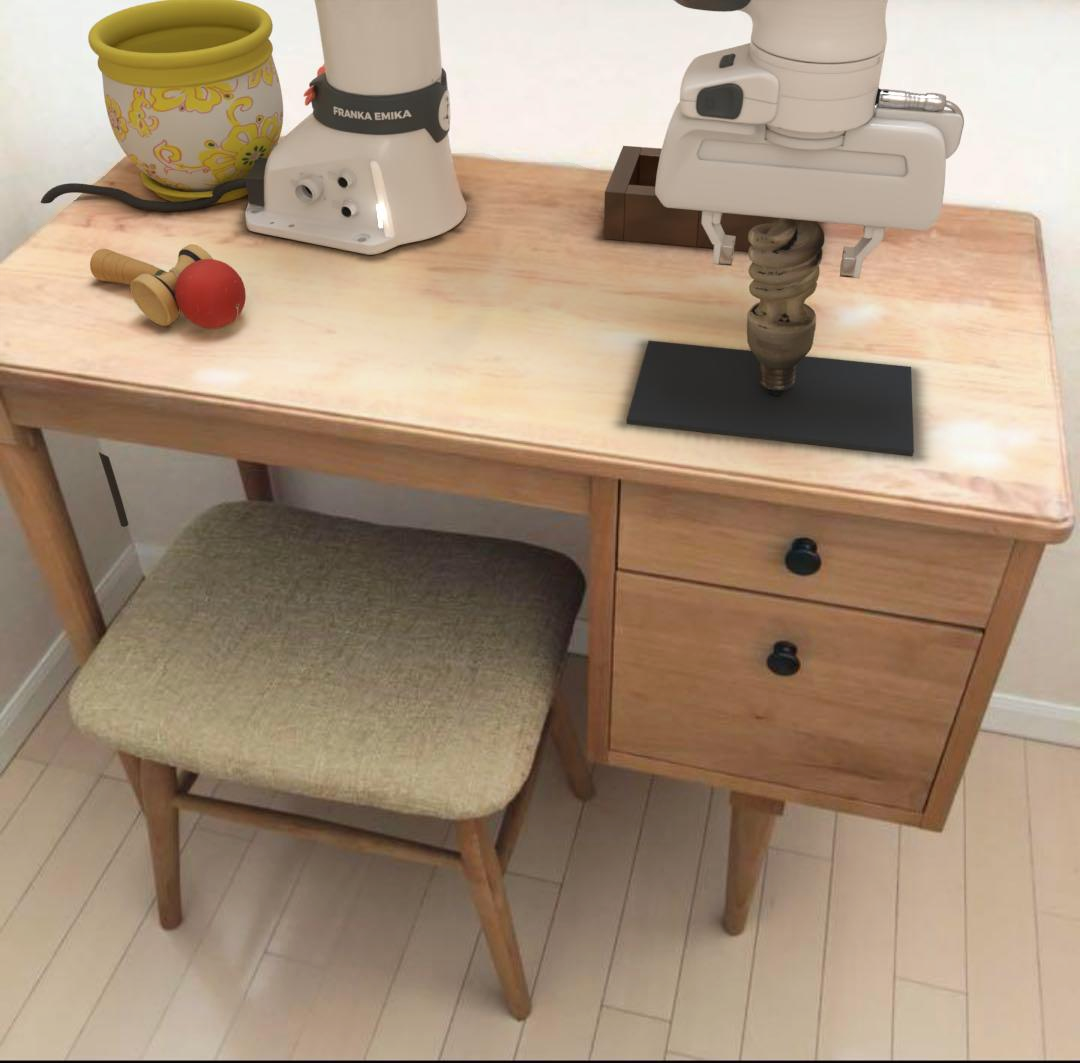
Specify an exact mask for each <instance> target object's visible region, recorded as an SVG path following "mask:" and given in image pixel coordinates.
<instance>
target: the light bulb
mask: <svg viewBox="0 0 1080 1063" xmlns="http://www.w3.org/2000/svg"><path fill="white" fill-rule="evenodd" d="M748 240H749V242H750V243H751V244H752V245H751V246H750V248H749V250H748V251H747V256H748V258H749V260H750V262H752V263H751V264H750V265H749V268H748V276H750V278H751V279H752V281H751V282H750V283H749V286H748V291H749V294H751V296H753V297H754V298H755V299H759V301H758V302H756V303H755V304H754V305H752V306H751V307H750V308H749V310H748V312H747V315H746V341H747V345H748V347H749V349H750V350H749V351H752V352H753V354H754V355H755V356H756V358H757V359H758V360H759V361H760V373H761V375H760V381H759V382H760V384H761V385H763V386H764V387H765V388H766V389H767V392H768V394H770V395H774V396H781V395H782V394H783V392H788V391H789V390H790V389H791V388H792V387H793V385H794V384H795V377H796V367H797V364H798V363H799V362H800V361H801V360H802V359H803V358H804V357H805V356H808V354H809V353H810V351H811V350H812V348H813V344H814V339H815V332H816V328H817V327H816V326H817V324H816V323H817V315H816V312H815V310H814V309H813V308H812V307H811V306H810V305H808V304H806V303H805V301H806V300H807V299H808V298H809V297H811V296H812V295H814V293H815V292H816V290H817V286H818V280H819V277H820V265H821V263H822V260H823V246H824V244H825V232H824V229H823V228H822V226H821V224H819V222H818V223H817V222H816V221H807V220H796V219H785V218H781V219H777V220H775V221H774V222H773V223H768V224H761V225H757V226H755V227H753V228H752V229H751V230H750V231H749V234H748Z"/></svg>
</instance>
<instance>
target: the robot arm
mask: <svg viewBox="0 0 1080 1063" xmlns="http://www.w3.org/2000/svg"><path fill="white" fill-rule="evenodd" d="M313 1H314V5H315V9H316V16H317V23H318V28H319V35H320V42H321V49H322V56H323V62H324V63H323V65H322V66H321V67H319V68H318V69H317V73H316V76H315V78H313V79H312V80H311V81H310V82H309V85H308V87H309V88H308V89H306V90H305V91H304V93H303V97H305V99H304V106H305V107H306V106H309V105H310V104H311V108H312V112H311V113H310V114H308V115H307V117H305V118H304V119H303V120H301V121H300V122H299V123H298V124H297V125H296V126H295V127H294V128H293V129H292V130H290V131H289V132H288V133H287V134H286V135H284V137H283V138H282V139H281V140H279V141H278V143H277V145H276V146H275V147H274V149H273V150H272V152H271V153H270V155H269V157H268V158H259V159H258V160H257V162H256V163H255V164H254V166H253V167H252V169H251V170H250V172H249V173H248V174H247V176H246V177H245V178H242V179H237V180H232V181H229V182H226V183H223V184H221V185H219V186H217V187H216V188H215V189H214V190H213V192H212V194H213V196H212V197H205V198H200V199H196V200H191V201H182V202H171V201H166V200H165V201H164V200H163V201H162V200H148V199H143V198H140V197H137V196H134V195H133V194H131V193H129V192H127V191H125V190H123V189H120V188H117V187H116V188H115V187H110V186H102V185H94V184H88V183H80V182H79V183H78V182H75V183H74V182H69V183H62V184H59V185H55V186H54V187H52V188H50V189H49V190H47V192H45V194H44V195H43V196H42V198H41V200H40V204H51V203H53V201H55V199H57V198H58V197H60V196H62V195H66V194H73V193H74V194H87V195H93V196H94V195H95V196H102V197H109V198H115V199H117V200H120V201H122V202H124V203H126V204H128V205H130V206H132V207H135V208H137V209H142V210H147V211H160V212H186V211H193V210H198V209H205V208H207V207H210V206H212V205H214V203H216V202H217V201H218V200H219V199H220V198H221V196H222V195H224V194H225V193H227V192H230V191H232V190H236V189H241V188H246V187H247V193H248V195H247V196H248V197H247V199H248V203H247V205H246V208H245V213H244V216H245V226H246V228H247V230H248V231H250V232H253V233H258V234H262V235H266V236H272V237H278V238H283V239H287V240H292V241H297V242H303V243H307V244H312V245H318V246H322V247H328V248H331V249H332V248H333V249H338V250H342V251H347V252H353V253H356V254H357V253H358V254H362V255H369V256H371V255H373V256H374V255H378V254H382V253H384V252H387V251H389V250H392V249H394V248H397V247H399V246H400V245H401V246H402V245H405V244H410V243H415V242H421V241H424V240H429V239H431V238H434V237H437V236H440V235H442V234H445V233H447V232H448V231H450V230H452V229H453V228H455V227H456V226H457V225H459V224H460V223H461V222H462V221H463V219H464V218H465V217H466V214H467V210H468V207H467V203H466V200H465V198H464V196H463V193H462V190H461V187H460V184H459V179H458V176H457V172H456V168H455V164H454V159H453V153H452V149H451V143H450V137H449V133H450V126H451V100H450V92H449V91H450V90H449V89H448V78H447V72H446V70H445V69H444V67H442V66H443V65H442V51H441V37H440V35H441V34H440V20H439V19H440V18H439V4H438V0H313ZM673 1H674V2H675V3H677V4H678V5H680V6H682V7H684V8H687V9H691V10H699V11H706V12H722V13H723V12H724V13H725V12H735V11H736V12H737V11H738V12H739V11H740V12H742V13H745V14H746V15H748V16H749V17H750V19H751V21H752V27H751V28H752V29H751V35H750V42H749V43H746V44H741V45H737V46H733V47H729V48H725V49H720V50H716V51H712V52H707V53H704V54H701V55H698V56H696V57H694V59H693V60H692V61H691V62H690V63H689V65H688V66H687V68H686V70H685V72H684V74H683V77H682V79H681V83H680V88H679V102H678V103H677V105H676V106H675V108H674V110H673V113H672V115H671V118H670V120H669V122H668V126H667V128H666V132H665V135H664V139H663V143H662V147H661V149H662V150H661V154H660V159H659V164H658V170H657V176H656V185H655V194H656V196H657V197H658V199H659V200H660V202H661V203H662V204H663V206H665V207H667V208H677V209H688V210H699V211H702V220H701V224H702V226H703V227H704V229H705V231H706V233H707V235H708V237H709V239H710V241H711V243H712V244H713V245H714V248H713V252H712V261H711V262H712V265H715V266H727V267H728V266H730V267H732V266H733V261H734V256H735V250H734V246H735V238H736V236H731V235H725V233H724V231H723V229H722V226H721V224H720V221H721V217H722V213H731V214H742V215H753V216H764V217H775V218H785V219H796V220H807V221H818V223H819V222H820V223H828V224H829V223H831V224H838V225H839V224H841V225H850V226H851V225H852V226H862V227H863V236H862V238H861V239H860V240H859V241H858V242H857V244H855V245H854V246H843V248H842V256H841V260H840V267H839V278H848V279H856V280H857V279H861V274H862V269H863V262H864V260H867V258H868V257H869V256H870V254H871V253H873V251H875V250H876V248H877V247H878V246H879V245H880V244H881V243H882V242H883V240H884V235H885V230H886V229H895V230H904V231H905V230H906V231H916V232H926V231H927V230H928V229H930V228H931V227H933V226H934V225H935V224H936V223H938V221H939V220H940V218H941V214H942V209H943V203H944V202H943V201H944V197H945V196H944V195H945V185H946V172H947V171H946V168H947V165H946V164H947V159H949V158H950V157H952V156H953V155H954V154H955V153H956V151H957V150H958V148H959V146H960V144H961V140H962V135H963V130H964V127H965V126H964V125H965V117H964V114H963V111H962V110H961V108H960V107H959V106H958V105H957V104H956V103H954V102H952V101H950V100H948V99H947V95H945V94H942V93H937V92H926V93H919V92H910V91H906V90H900V89H888V88H887V89H886V88H880V87H879V86H880V81H881V75H882V70H883V63H884V58H885V53H886V47H887V40H888V33H887V24H886V14H887V6H888V2H889V0H673ZM945 108H947V109H945ZM216 204H217V203H216ZM98 455H99V458H100V461H101V464H102V467H103V470H104V473H105V477H106V480H107V483H108V487H109V490H110V493H111V496H112V499H113V504H114V506H115V507H114V508H115V510H116V513H117V518H118V520H119V524H120V526H121V527H122V528H126V527H127V526H129V521H128V516H127V514H126V510H125V506H124V503H123V498H122V496H121V492H120V489H119V485H118V483H117V479H116V475H115V473H114V469H113V466H112V462H111V459H110V457H109V456H108V455H106V454H105V453H102V452H101V451H99V452H98Z"/></svg>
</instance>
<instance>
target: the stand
mask: <svg viewBox="0 0 1080 1063" xmlns="http://www.w3.org/2000/svg"><path fill="white" fill-rule="evenodd" d="M661 150H662V147H659V148H658V147H645V146H632V145H622V148H621V150H620V153H619V155H618V158H617V160H616V163H615V164H614V168H613V170H612V172H611V175H610V177H609V180H608V183H607V186H606V187H605V189H604V201H603V202H604V208H603V209H604V210H603V239H604V240H613V241H627V242H637V243H648V244H660V245H672V246H681V247H682V246H683V247H696V248H707V249H714V245H713V244H712V243H711V241H710V239H709V237H708V235H707V233H706V231H705V229H704V227H703V226H702V224H701V220H702V211H699V210H688V209H677V208H667V207H665V206H663V204H662V203H661V202H660V200H659V199H658V197H657V196H656V194H655V185H656V176H657V170H658V164H659V159H660V154H661ZM777 219H781V218H775V217H764V216H753V215H742V214H731V213H722V217H721V221H720V224H721V226H722V229H723V231H724V233H725V235H731V236H736V238H735V246H734V251H741V252H748V250H749V248H750V246H751V245H752V244H751V243H750V242H749V240H748V234H749V231H750V230H751V229H752V228H753V227H755V226H757V225H761V224H768V223H773V222H774V221H775V220H777ZM816 222H817V223H818V224H819V222H818V221H816Z"/></svg>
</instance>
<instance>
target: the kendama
mask: <svg viewBox="0 0 1080 1063" xmlns="http://www.w3.org/2000/svg"><path fill="white" fill-rule="evenodd" d="M177 257H178V258H177V262H176V264H175V266H174V267H171V268H170V269H169V270H168V271H166V270H163V269H161V268H160V267H157V266H155V265H153V264H151V263H148V262H145V261H143V260H140V259H136V258H134V257H131V256H127V255H124V254H121V253H118V252H116V251H113V250H111V249H108V248H99V249H98V250H96V251H95V252H94V253H93V254H92V256H91V258H90V262H89V268H90V272H91V275H92V276H93V277H94V278H95V279H96V280H98V281H102V282H109V283H117V284H123V285H129V288H130V293H131V297H132V299H133V300H134V302H135V304H136V305H137V308H139V309H140V311H141V312H142V313H143V314H144V315H145V316H146V317H147V318H148V319H149V320H150V321H152V322H154V323H155V324H157V325H158V326H161V327H167V326H169V325H171V324H172V323H174V322H175V321H177V320H178V318H179V315H180V312H181V314H182V315H183V317H185V318H186V319H187V320H188V321H189V322H190V323H193V324H194V325H195V326H198V327H201V328H205V329H220V328H223V327H227V326H228V325H230V324H234V323H235V322H236V321H237V320H238V318H239V317H240V315H241V313H242V312H243V309H244V307H245V304H246V298H247V297H246V296H247V295H246V293H247V292H246V287H245V284H244V281H243V279H242V277H241V276H240V274H239V273H238V272H237V271H236V270H235V269H234V268H233V267H232V266H230V265H229V264H228V263H226V262H224V261H221V260H220V259H219V260H218V259H215V258H213V257H212V255H211V254H210V253H209V252H208V251H207V250H205V249H204V248H202V247H201V246H200V245H197V244H193V243H190V244H188V245H186V246H184V247H182V248H181V249H180V250H179V252H178V256H177Z"/></svg>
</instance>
